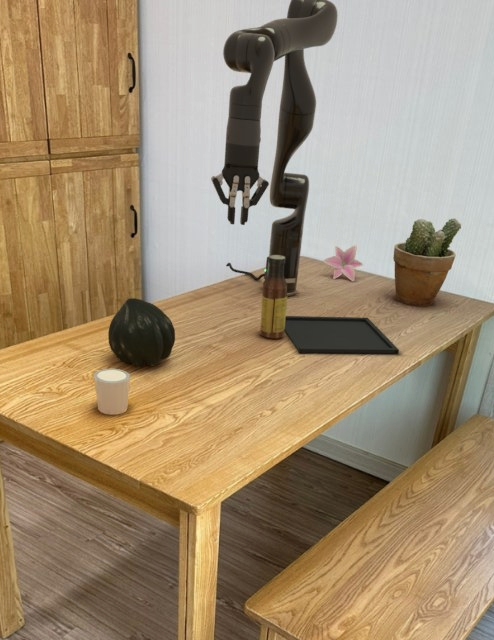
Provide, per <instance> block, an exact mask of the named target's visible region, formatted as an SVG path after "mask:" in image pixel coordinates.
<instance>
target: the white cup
mask: <svg viewBox="0 0 494 640" xmlns="http://www.w3.org/2000/svg"><path fill="white" fill-rule="evenodd" d="M93 381H94V389H95V394H96V402H97V403H96V404H97V409H98V411H99V412H100V413H101V414H105V415H111V416H114V415H121V414H124V413H125V412H127V410H128V405H129V396H130V395H129V394H130V384H131V383H130V382H131V374H130V373H129V372H127V371H126V370H123V369H118V368H104V369H100V370H97V371H95V372H94V373H93Z"/></svg>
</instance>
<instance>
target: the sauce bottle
mask: <svg viewBox="0 0 494 640" xmlns="http://www.w3.org/2000/svg"><path fill="white" fill-rule="evenodd" d="M268 256H269V255H268ZM284 264H285V257H284V256H280V255H271V256H269V272H268V276H267V278H266V279H264V281H263V284H262V297H261V313H260V335H261V336H262V337H263V338H267V339H271V340H272V339H273V340H278V339H282V338H283V337H284V335H285V318H286V316H287V305H288V304H287V303H288V302H287V301H288V296H287V283H286V280H285V277H284Z"/></svg>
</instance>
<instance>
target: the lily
mask: <svg viewBox="0 0 494 640" xmlns="http://www.w3.org/2000/svg"><path fill="white" fill-rule="evenodd" d="M357 249H358V246H357V245H356V244H354V245H352V246H350V247H349V248H347V249H346V250H345V251H344V250H343V249H342V248H341V247H339V246H337V245H335V247H334V251H335V252H334V253H335V255H333V256H329V257H327V258H325V259H323V262H324V263H325V264H326V265H329V266H331V267H332V268H334V271H333V276H332V278H333V280H336V279H338V278H339V277H340V276H342V275H344V276H345V277H347V278H348V279H349V280H350V281H351V282H355V278H356V273H355V269H356V268H360V267H363V266H364V263H362V262H361V261H359V260H358V259H356V255H357Z"/></svg>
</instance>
